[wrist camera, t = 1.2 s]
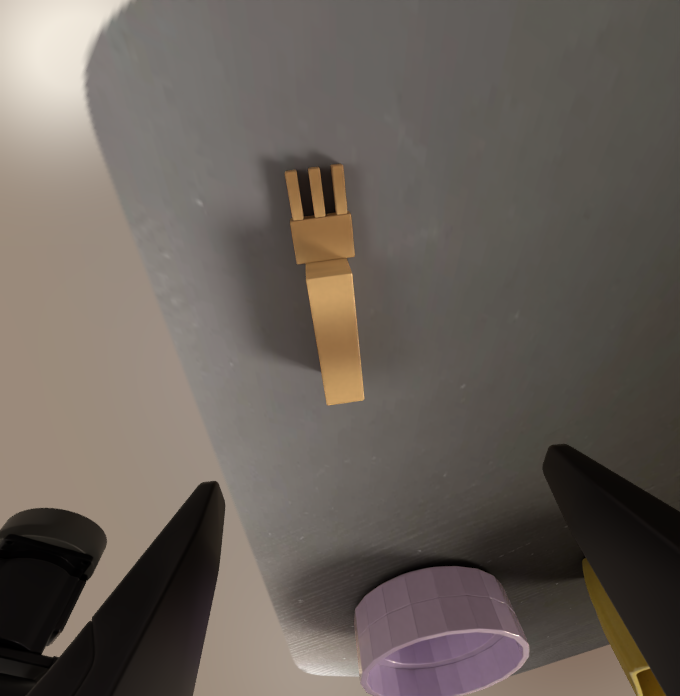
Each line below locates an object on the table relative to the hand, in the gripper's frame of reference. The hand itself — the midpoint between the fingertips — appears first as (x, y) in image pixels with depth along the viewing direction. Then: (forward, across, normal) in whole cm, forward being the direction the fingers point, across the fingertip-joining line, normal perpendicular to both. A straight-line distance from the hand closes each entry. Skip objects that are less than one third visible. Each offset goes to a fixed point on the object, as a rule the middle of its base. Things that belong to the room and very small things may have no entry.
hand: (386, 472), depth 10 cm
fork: (+11, +1, -1) cm, 11 cm away
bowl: (+11, -7, +34) cm, 36 cm away
